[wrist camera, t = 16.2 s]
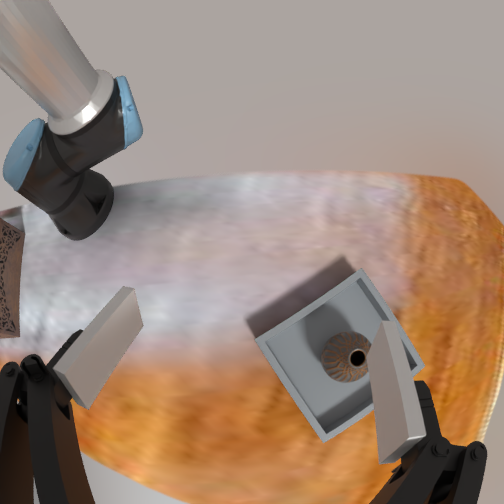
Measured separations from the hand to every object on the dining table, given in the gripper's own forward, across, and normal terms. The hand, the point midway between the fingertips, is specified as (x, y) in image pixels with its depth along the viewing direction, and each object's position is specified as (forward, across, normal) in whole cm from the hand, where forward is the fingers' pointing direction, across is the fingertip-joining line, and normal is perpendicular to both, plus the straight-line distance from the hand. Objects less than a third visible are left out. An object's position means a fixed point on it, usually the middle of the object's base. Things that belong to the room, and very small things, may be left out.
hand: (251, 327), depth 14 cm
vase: (+17, +11, -19) cm, 28 cm away
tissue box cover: (+17, -64, -22) cm, 70 cm away
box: (+17, +11, -20) cm, 29 cm away
